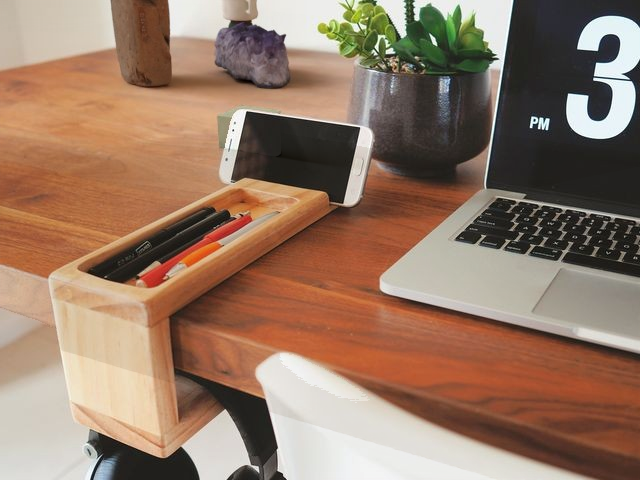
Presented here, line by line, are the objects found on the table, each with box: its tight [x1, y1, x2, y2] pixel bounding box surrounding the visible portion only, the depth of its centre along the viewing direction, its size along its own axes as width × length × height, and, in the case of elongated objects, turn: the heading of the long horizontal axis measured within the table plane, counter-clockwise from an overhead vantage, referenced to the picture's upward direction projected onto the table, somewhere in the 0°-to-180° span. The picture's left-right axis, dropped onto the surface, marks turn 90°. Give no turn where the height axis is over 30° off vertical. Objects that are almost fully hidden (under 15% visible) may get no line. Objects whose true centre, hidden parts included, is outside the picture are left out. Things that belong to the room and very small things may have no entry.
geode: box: [213, 22, 291, 89], centre depth 127 cm, size 20×12×10 cm, turn 31°
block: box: [110, 0, 173, 87], centre depth 119 cm, size 11×8×20 cm
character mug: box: [221, 0, 259, 28], centre depth 147 cm, size 11×7×13 cm, turn 35°
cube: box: [216, 105, 282, 150], centre depth 87 cm, size 6×6×6 cm
